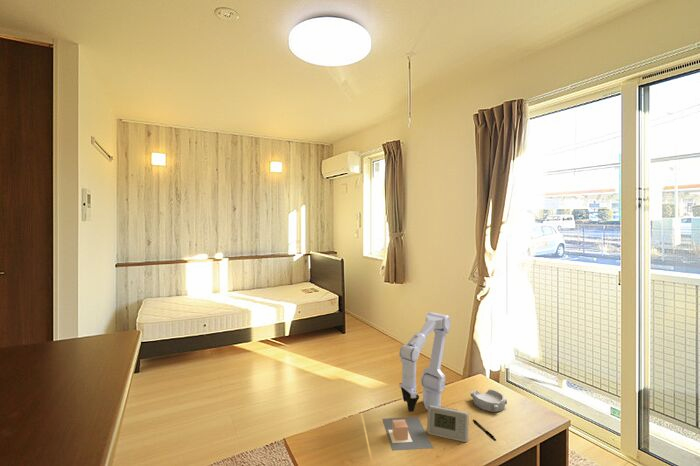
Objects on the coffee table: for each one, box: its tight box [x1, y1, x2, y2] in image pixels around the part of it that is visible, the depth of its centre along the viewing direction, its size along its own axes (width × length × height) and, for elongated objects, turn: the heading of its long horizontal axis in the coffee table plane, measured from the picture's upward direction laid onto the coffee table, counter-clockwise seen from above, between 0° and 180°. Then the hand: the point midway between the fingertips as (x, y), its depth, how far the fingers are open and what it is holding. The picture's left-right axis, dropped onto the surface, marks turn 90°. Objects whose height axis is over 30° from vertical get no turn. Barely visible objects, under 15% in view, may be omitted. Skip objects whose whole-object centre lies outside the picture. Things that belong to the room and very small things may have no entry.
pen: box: [472, 419, 497, 441], centre depth 138 cm, size 14×2×1 cm, turn 16°
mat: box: [382, 416, 434, 451], centre depth 135 cm, size 20×16×1 cm
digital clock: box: [426, 405, 470, 443], centre depth 134 cm, size 16×9×11 cm, turn 59°
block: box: [392, 419, 408, 440], centre depth 132 cm, size 5×5×5 cm
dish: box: [470, 388, 508, 413], centre depth 157 cm, size 14×14×5 cm
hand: (408, 406), depth 139 cm, fingers open, 7 cm apart
